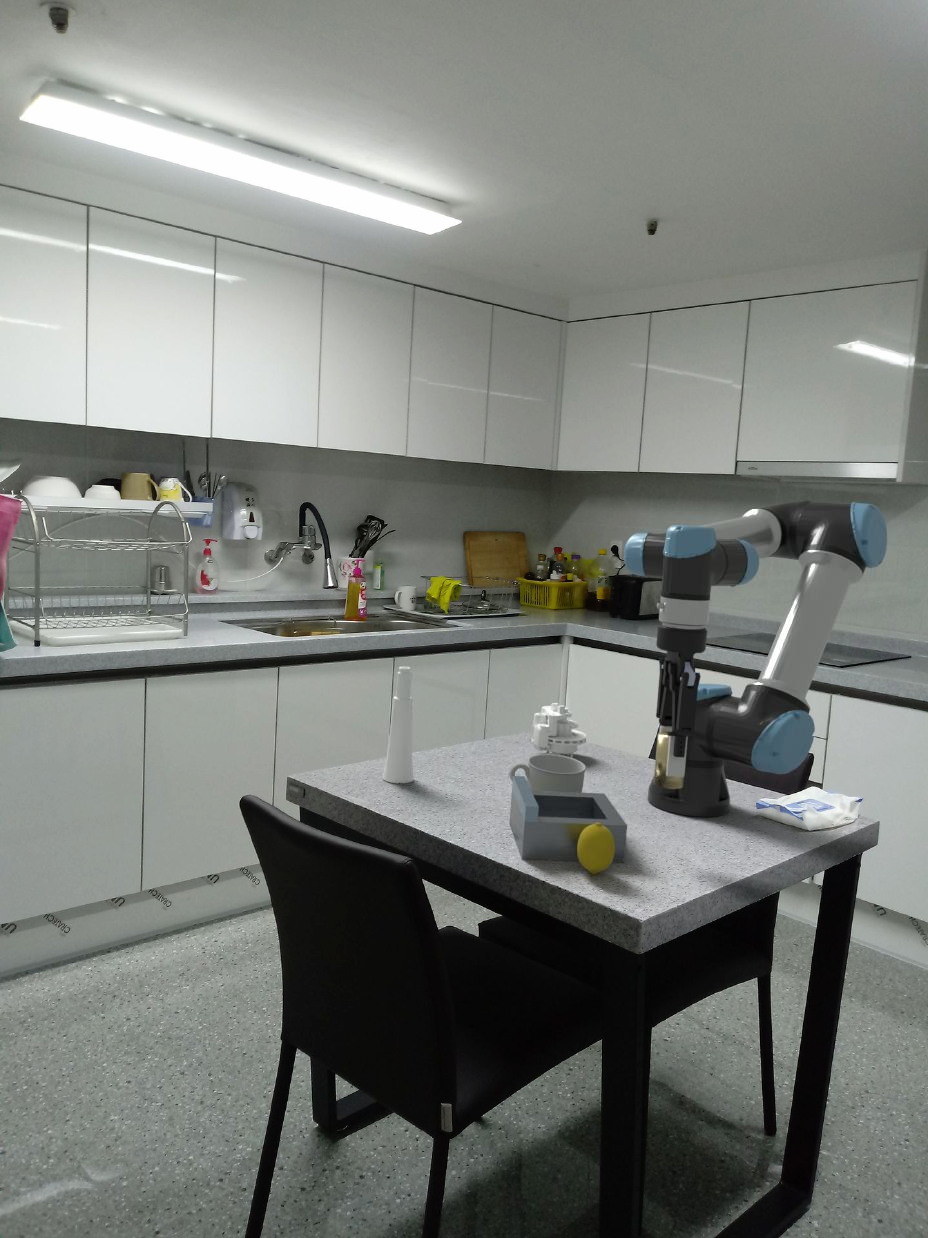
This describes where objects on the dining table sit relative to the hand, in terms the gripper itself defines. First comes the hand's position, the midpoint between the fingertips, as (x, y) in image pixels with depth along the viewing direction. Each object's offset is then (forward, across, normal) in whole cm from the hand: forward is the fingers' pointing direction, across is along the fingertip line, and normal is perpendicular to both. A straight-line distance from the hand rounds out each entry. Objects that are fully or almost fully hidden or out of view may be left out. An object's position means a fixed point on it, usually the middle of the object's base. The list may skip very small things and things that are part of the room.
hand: (670, 770), depth 147 cm
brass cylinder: (+2, 0, 0) cm, 2 cm away
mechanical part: (+14, -57, -7) cm, 59 cm away
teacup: (+14, -24, -16) cm, 32 cm away
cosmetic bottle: (+14, -35, -42) cm, 57 cm away
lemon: (+14, +9, -13) cm, 21 cm away
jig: (+14, -4, -15) cm, 21 cm away
